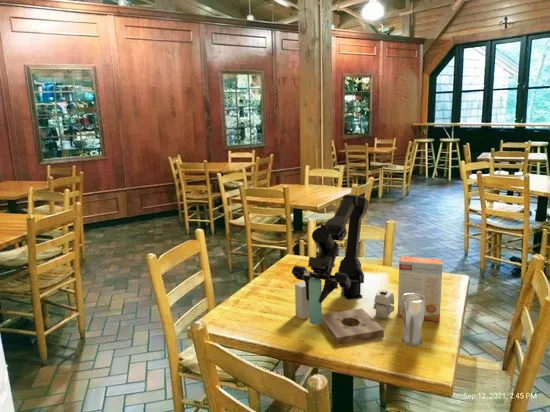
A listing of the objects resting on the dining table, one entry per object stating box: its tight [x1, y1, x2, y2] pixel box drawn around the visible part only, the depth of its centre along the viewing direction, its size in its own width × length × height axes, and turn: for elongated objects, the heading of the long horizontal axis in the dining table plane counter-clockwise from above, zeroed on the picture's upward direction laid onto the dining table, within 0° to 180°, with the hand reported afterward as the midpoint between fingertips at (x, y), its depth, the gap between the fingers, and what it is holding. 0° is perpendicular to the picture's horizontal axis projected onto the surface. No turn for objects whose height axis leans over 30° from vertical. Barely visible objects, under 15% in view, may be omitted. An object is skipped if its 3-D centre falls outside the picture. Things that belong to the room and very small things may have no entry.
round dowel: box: [308, 278, 323, 326], centre depth 138 cm, size 4×4×14 cm
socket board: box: [320, 308, 385, 346], centre depth 146 cm, size 16×16×2 cm
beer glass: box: [401, 293, 425, 347], centre depth 136 cm, size 7×7×15 cm
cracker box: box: [397, 255, 443, 322], centre depth 151 cm, size 14×6×21 cm, turn 70°
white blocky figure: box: [373, 289, 395, 319], centre depth 152 cm, size 6×7×10 cm
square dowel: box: [294, 280, 309, 320], centre depth 155 cm, size 4×4×12 cm
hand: (313, 301), depth 137 cm, fingers closed on round dowel, 4 cm apart
